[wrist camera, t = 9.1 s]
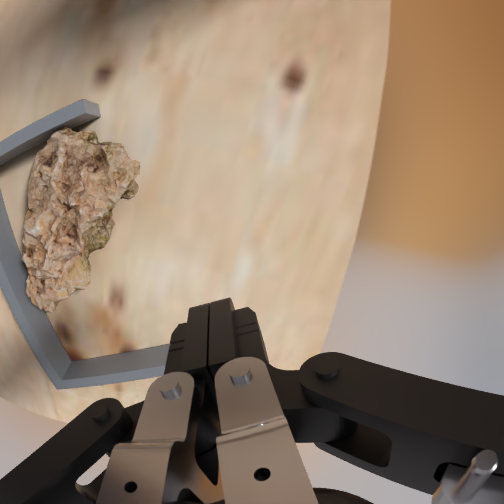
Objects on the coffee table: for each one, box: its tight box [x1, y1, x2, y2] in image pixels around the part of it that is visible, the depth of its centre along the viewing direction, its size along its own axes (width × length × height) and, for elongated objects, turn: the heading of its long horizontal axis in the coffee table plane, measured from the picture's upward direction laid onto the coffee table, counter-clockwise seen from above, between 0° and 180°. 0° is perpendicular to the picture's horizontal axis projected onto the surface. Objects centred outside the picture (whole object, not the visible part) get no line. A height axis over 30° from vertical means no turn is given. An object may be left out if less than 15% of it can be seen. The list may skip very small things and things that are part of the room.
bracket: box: [0, 99, 170, 389], centre depth 24 cm, size 14×25×4 cm, turn 13°
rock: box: [22, 126, 140, 312], centre depth 24 cm, size 17×5×10 cm
